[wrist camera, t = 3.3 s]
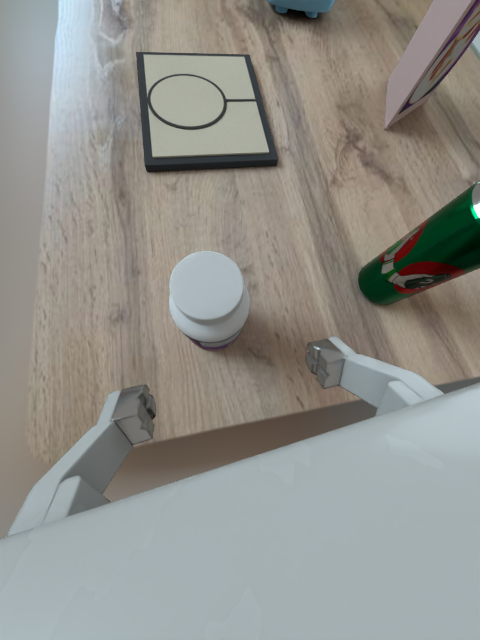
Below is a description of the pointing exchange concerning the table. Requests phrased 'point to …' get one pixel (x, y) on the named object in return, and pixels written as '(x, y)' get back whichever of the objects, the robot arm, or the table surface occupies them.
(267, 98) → the table surface
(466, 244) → the soda can
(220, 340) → the pill bottle
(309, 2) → the teapot
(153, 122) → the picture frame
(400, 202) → the table surface
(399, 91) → the greeting card
